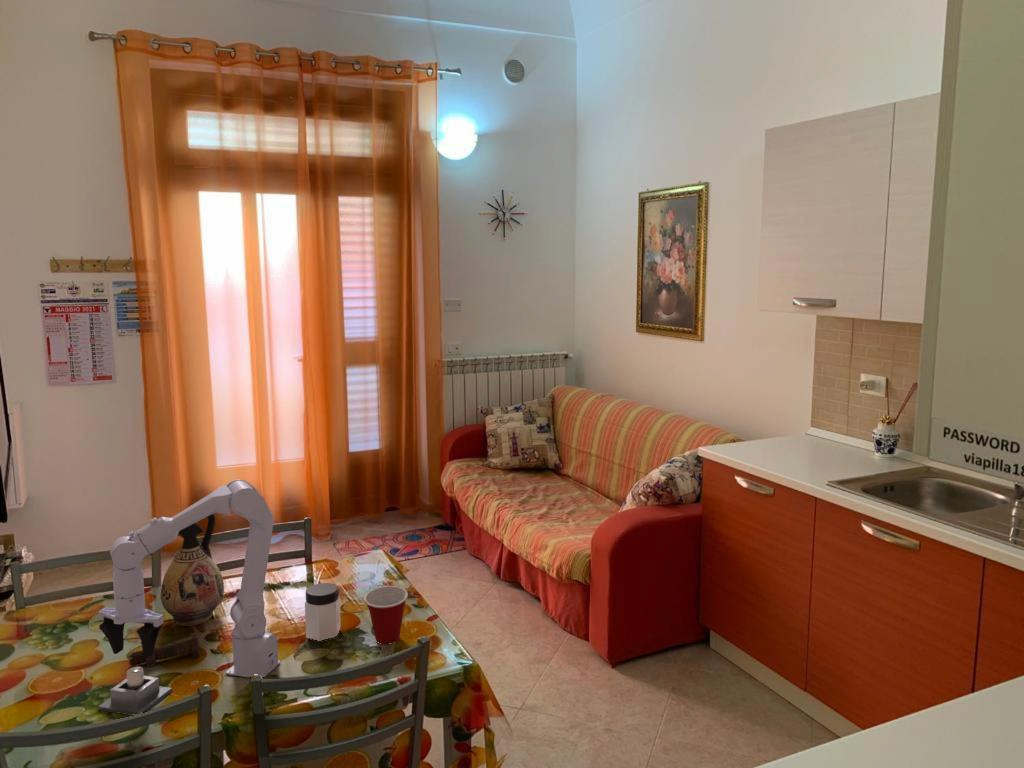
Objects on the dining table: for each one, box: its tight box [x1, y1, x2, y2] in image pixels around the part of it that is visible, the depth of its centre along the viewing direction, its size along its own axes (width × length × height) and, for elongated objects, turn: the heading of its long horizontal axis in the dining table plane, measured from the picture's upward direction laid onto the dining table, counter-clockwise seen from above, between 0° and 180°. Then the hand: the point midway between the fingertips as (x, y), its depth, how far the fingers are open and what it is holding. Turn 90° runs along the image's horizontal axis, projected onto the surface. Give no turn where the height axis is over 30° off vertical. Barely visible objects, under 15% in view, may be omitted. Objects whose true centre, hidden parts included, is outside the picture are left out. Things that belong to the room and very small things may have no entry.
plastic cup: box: [363, 585, 409, 645], centre depth 188 cm, size 11×11×12 cm
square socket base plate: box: [97, 675, 173, 716], centre depth 161 cm, size 10×10×4 cm
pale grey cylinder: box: [125, 666, 145, 691], centre depth 161 cm, size 3×3×6 cm
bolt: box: [128, 632, 201, 667], centre depth 178 cm, size 6×5×15 cm
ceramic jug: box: [160, 513, 227, 627], centre depth 199 cm, size 17×15×30 cm
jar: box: [304, 582, 341, 642], centre depth 191 cm, size 9×8×12 cm
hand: (133, 653), depth 161 cm, fingers open, 7 cm apart
